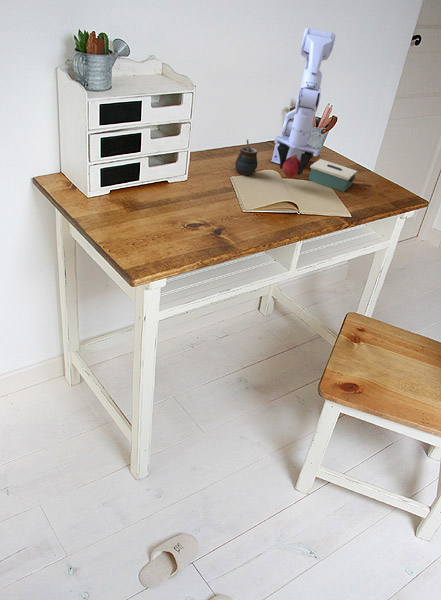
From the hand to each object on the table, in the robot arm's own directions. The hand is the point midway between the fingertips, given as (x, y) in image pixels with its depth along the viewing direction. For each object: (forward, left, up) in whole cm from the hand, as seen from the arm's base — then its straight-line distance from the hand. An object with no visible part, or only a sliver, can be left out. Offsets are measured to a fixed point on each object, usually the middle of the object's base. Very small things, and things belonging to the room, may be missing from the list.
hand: (290, 171), depth 178 cm
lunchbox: (+10, +16, -5) cm, 19 cm away
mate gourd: (-15, -2, -5) cm, 16 cm away
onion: (0, 0, -3) cm, 3 cm away
